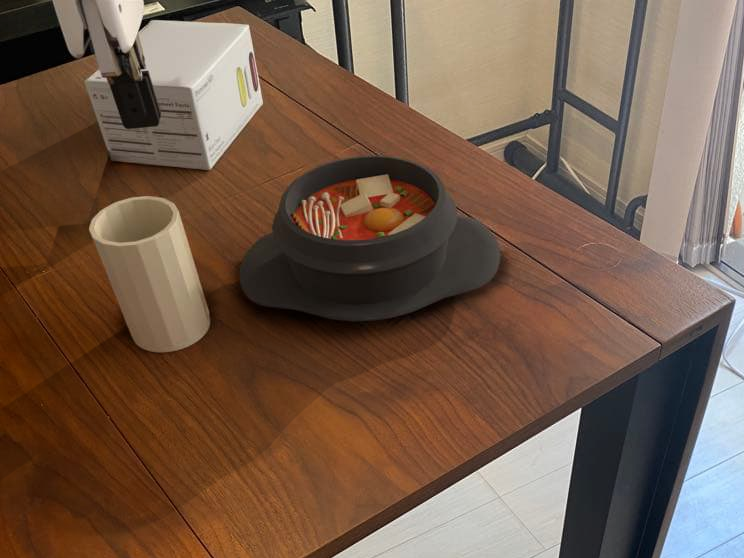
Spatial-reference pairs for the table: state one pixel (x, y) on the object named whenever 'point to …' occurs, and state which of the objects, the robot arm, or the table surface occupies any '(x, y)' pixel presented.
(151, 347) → the cup
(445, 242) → the casserole
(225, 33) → the supplement box
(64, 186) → the table surface
